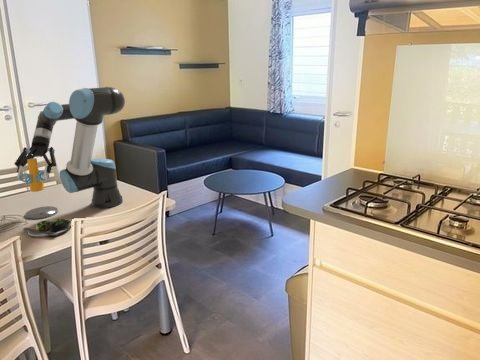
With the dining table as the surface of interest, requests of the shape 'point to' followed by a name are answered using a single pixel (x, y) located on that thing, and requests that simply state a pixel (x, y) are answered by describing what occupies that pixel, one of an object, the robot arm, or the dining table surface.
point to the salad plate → (50, 228)
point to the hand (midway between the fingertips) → (32, 179)
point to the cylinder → (34, 176)
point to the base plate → (41, 212)
